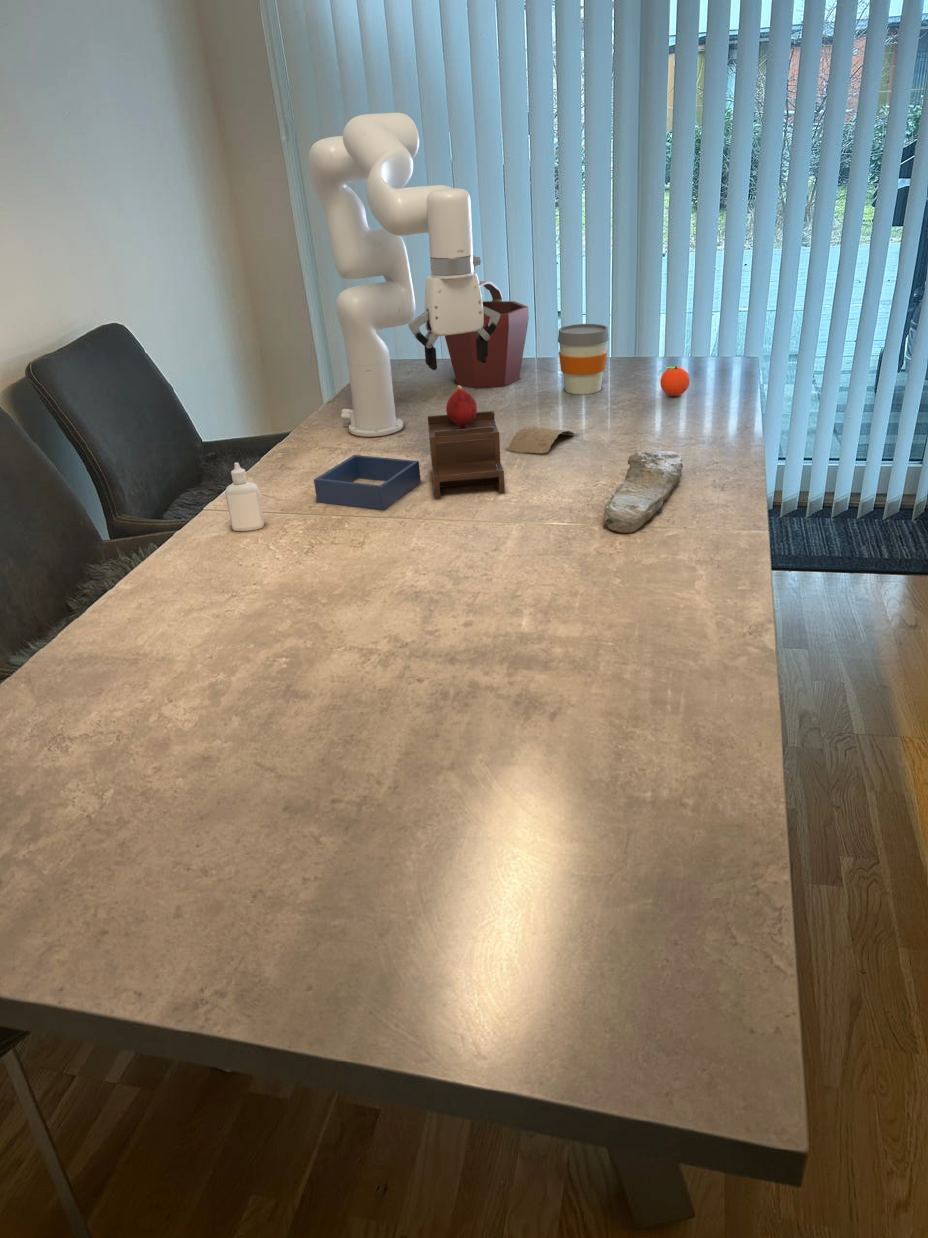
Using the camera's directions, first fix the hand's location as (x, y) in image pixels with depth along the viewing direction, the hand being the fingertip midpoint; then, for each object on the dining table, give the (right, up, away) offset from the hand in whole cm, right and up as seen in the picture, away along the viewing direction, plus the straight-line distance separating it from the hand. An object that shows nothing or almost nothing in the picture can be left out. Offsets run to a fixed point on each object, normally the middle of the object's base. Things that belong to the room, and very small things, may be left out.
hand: (457, 364), depth 165 cm
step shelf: (+2, -21, +7) cm, 22 cm away
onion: (+1, -11, +5) cm, 12 cm away
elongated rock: (+34, -25, -5) cm, 42 cm away
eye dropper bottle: (-37, -31, -6) cm, 49 cm away
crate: (-17, -23, +6) cm, 29 cm away
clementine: (+52, +7, +52) cm, 74 cm away
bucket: (+7, +17, +76) cm, 78 cm away
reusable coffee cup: (+32, +11, +61) cm, 70 cm away
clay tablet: (+18, -10, +26) cm, 33 cm away
